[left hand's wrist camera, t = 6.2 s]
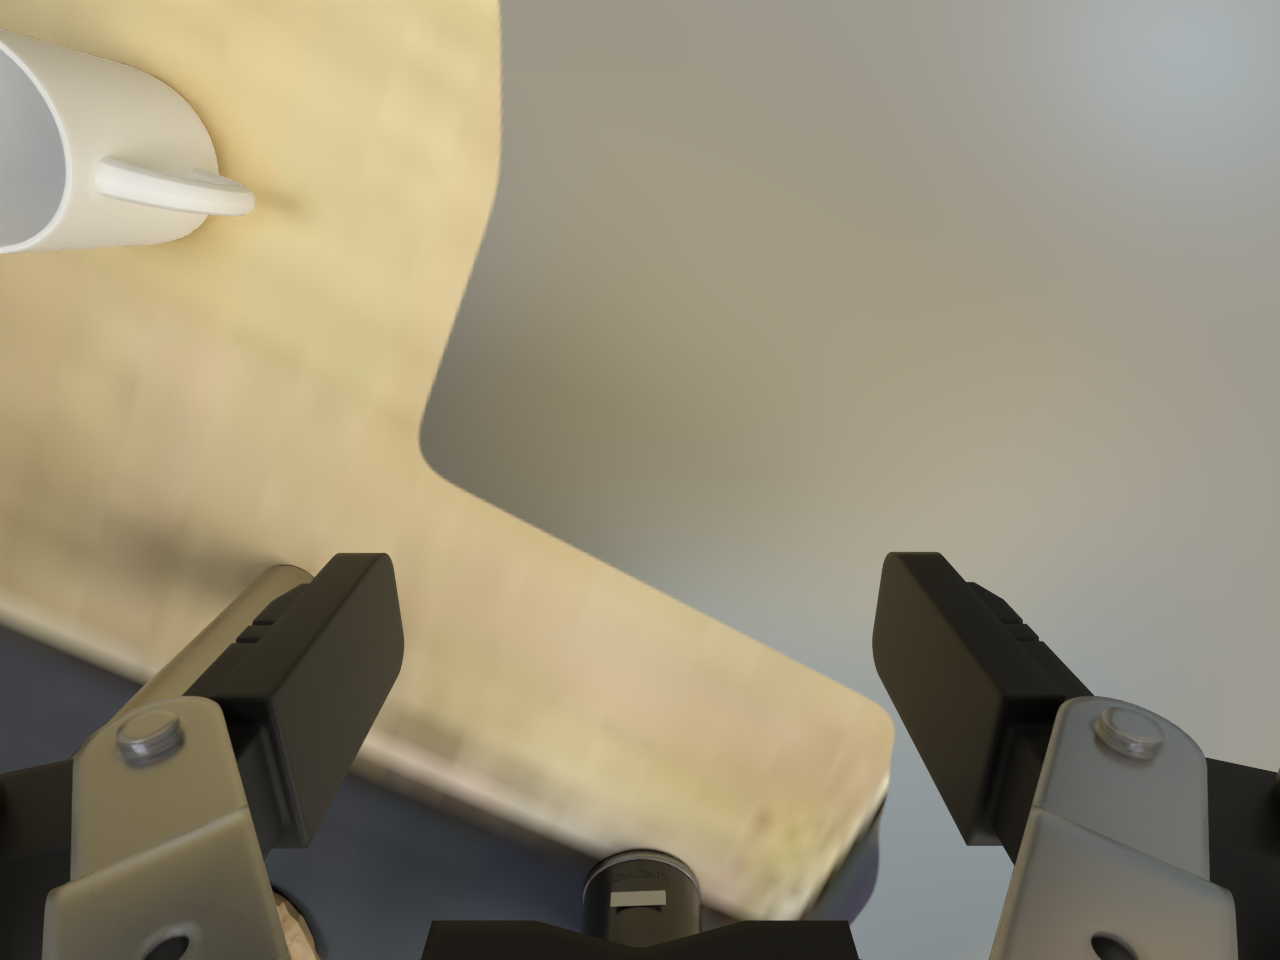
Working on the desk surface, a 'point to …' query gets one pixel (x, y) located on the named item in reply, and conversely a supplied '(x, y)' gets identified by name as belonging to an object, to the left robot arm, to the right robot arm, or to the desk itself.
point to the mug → (100, 154)
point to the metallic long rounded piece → (215, 638)
